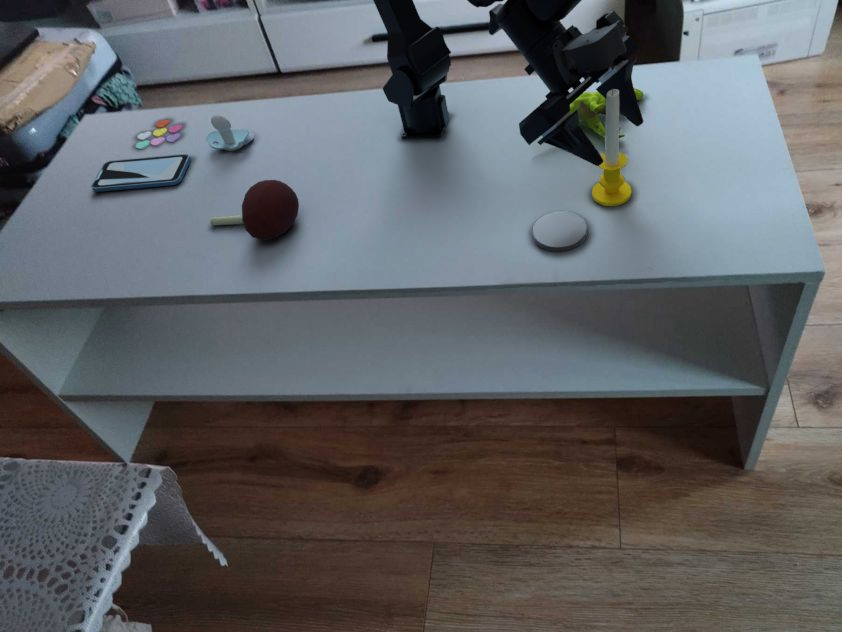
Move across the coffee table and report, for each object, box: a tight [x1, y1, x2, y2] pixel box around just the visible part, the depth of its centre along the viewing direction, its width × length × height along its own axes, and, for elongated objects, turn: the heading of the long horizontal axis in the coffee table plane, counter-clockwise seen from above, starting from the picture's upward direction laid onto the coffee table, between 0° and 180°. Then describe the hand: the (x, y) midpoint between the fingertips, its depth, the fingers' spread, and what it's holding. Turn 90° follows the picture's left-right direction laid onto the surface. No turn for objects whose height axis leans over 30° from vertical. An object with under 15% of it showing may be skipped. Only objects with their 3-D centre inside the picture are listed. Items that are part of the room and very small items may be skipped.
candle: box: [591, 89, 633, 207], centre depth 88 cm, size 5×5×16 cm
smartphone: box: [90, 153, 192, 193], centre depth 114 cm, size 7×1×15 cm
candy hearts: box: [135, 118, 183, 150], centre depth 122 cm, size 8×8×1 cm
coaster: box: [531, 210, 588, 253], centre depth 91 cm, size 7×7×1 cm
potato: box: [241, 179, 300, 241], centre depth 98 cm, size 8×9×6 cm
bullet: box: [209, 215, 244, 226], centre depth 102 cm, size 1×1×8 cm
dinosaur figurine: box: [569, 87, 644, 139], centre depth 101 cm, size 20×10×6 cm, turn 133°
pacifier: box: [205, 114, 255, 152], centre depth 114 cm, size 7×6×6 cm
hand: (621, 143), depth 87 cm, fingers open, 9 cm apart
